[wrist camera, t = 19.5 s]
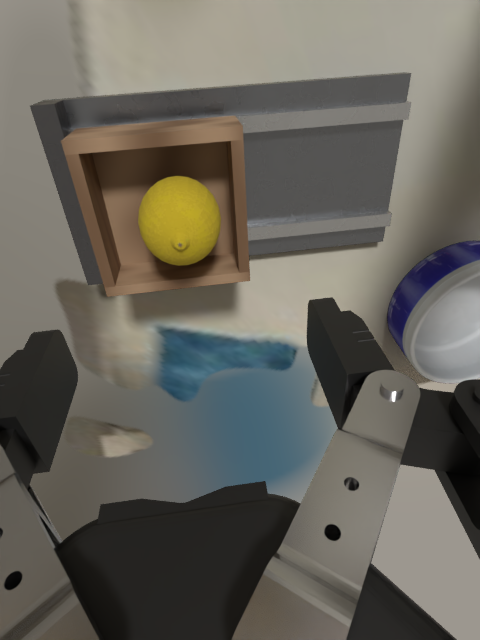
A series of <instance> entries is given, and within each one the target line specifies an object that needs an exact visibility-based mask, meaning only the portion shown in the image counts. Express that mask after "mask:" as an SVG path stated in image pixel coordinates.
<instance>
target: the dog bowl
mask: <svg viewBox="0 0 480 640" xmlns="http://www.w3.org/2000/svg"><path fill="white" fill-rule="evenodd" d="M387 319H388V327H389V330H390V333H391V335H392V336H393V338H394V339H395V341H396V343H397V344H398V346H399V347H400V349H401V350H402V352H403V353H404V354H405V356H406V357H407V359H408V360H409V361H410V363H411V364H412V366H413V367H414V368H415V369H416V371H417V372H418V373H419V374H421V375H422V376H423V377H425V378H427V379H429V380H431V381H434V382H439V383H449V384H452V383H461V382H462V381H465V380H471V379H479V378H480V241H466V242H460V243H456V244H453V245H450V246H447V247H445V248H443V249H440V250H438V251H436V252H435V253H433V254H431V255H429V256H428V257H426V258H425V259H424V260H422V261H421V262H420V263H418V264H417V265H416V266H415V267H414V268H413V269H412V270H411V271H410V272H409V273H408V274H407V275H406V276H405V277H404V278H403V280H402V281H401V282H400V284H399V285H398V287H397V289H396V290H395V292H394V294H393V296H392V299H391V302H390V305H389V309H388V316H387Z"/></svg>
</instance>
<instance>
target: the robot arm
mask: <svg viewBox="0 0 480 640" xmlns="http://www.w3.org/2000/svg"><path fill="white" fill-rule="evenodd" d="M307 346H308V351H309V354H310V358H311V360H312V363H313V365H314V368H315V370H316V373H317V376H318V378H319V381H320V383H321V386H322V388H323V391H324V393H325V396H326V398H327V401H328V404H329V406H330V409H331V411H332V414H333V416H334V419H335V421H336V424H337V427H338V429H337V430H336V432H335V434H334V435H333V437H332V440H331V442H330V444H329V446H328V448H327V450H326V452H325V454H324V456H323V458H322V460H321V463H320V465H319V467H318V469H317V471H316V473H315V475H314V477H313V479H312V481H311V483H310V486H309V488H308V490H307V492H306V494H305V496H304V498H303V500H302V502H301V504H300V503H298V502H296V501H295V500H292V499H289V498H287V497H283V496H279V495H275V494H268V493H267V488H266V482H265V481H263V482H256V483H249V484H242V485H235V486H228V487H224V488H221V489H219V490H216V491H214V492H212V493H209V494H206V495H204V496H201V497H199V498H196V499H194V500H191V501H189V502H186V503H175V502H166V501H157V500H148V499H136V500H129V501H123V502H115V503H109V504H101V506H100V511H99V517H98V519H97V520H94V521H92V522H90V523H88V524H86V525H84V526H83V527H81V528H80V529H78V530H77V531H75V532H74V533H73V534H71V535H70V536H68V537H67V538H66V539H65V540H63V541H62V539H61V538H60V536H59V535H58V533H57V531H56V529H55V528H54V526H53V524H52V522H51V520H50V518H49V517H48V515H47V513H46V511H45V509H44V508H43V506H42V504H41V502H40V501H39V499H38V497H37V495H36V493H35V492H34V490H33V488H32V487H31V485H30V481H31V478H32V475H33V474H34V473H42V472H49V471H50V468H51V465H52V462H53V458H54V455H55V452H56V449H57V446H58V443H59V440H60V436H61V433H62V430H63V427H64V424H65V421H66V418H67V414H68V411H69V408H70V405H71V402H72V399H73V395H74V392H75V389H76V386H77V382H78V372H77V367H76V364H75V362H74V359H73V357H72V355H71V352H70V350H69V348H68V346H67V343H66V341H65V338H64V336H63V334H62V332H61V331H60V330H50V331H42V332H34V333H32V334H31V336H30V337H29V339H28V341H27V343H26V345H25V347H24V349H23V350H17V351H16V352H15V353H14V354H13V355H12V356H11V357H10V358H8V359H7V360H6V361H5V362H4V364H3V366H2V367H1V369H0V640H456V639H455V638H454V637H453V636H452V635H451V634H450V633H449V632H448V631H446V630H445V629H444V628H443V627H442V626H441V625H440V624H439V623H437V622H436V621H435V620H434V619H433V618H432V617H431V616H430V615H428V614H427V613H426V612H425V611H424V610H423V609H422V608H421V607H419V606H418V605H417V604H416V603H415V602H414V601H413V600H411V599H410V598H409V597H408V596H407V595H406V594H405V593H404V592H403V591H402V590H400V589H399V588H398V587H397V586H396V585H395V584H394V583H393V582H391V581H390V580H389V579H388V578H387V577H386V576H385V575H384V574H382V573H381V572H380V571H379V570H378V569H377V568H376V567H375V566H374V565H373V564H371V561H372V558H373V554H374V551H375V547H376V544H377V540H378V538H379V534H380V531H381V527H382V524H383V521H384V517H385V514H386V511H387V507H388V504H389V501H390V497H391V494H392V490H393V487H394V484H395V481H396V477H397V474H398V471H399V467H400V464H402V465H408V466H414V467H420V468H427V469H433V470H435V472H436V474H437V476H438V478H439V480H440V482H441V484H442V486H443V487H444V490H445V492H446V494H447V496H448V498H449V499H450V501H451V503H452V505H453V507H454V509H455V511H456V513H457V515H458V517H459V519H460V521H461V523H462V525H463V527H464V529H465V531H466V533H467V535H468V537H469V539H470V541H471V543H472V544H473V547H474V549H475V551H476V553H477V555H478V557H479V558H480V380H477V379H471V380H465V381H462V382H461V383H459V384H458V385H457V386H456V388H455V391H454V393H451V392H442V391H434V390H427V389H422V388H419V387H418V385H417V384H416V382H415V381H414V380H413V379H411V378H410V377H409V376H407V375H405V374H403V373H400V372H397V371H395V370H394V369H393V367H392V365H391V364H390V362H389V361H388V359H387V358H386V356H385V354H384V353H383V351H382V350H381V348H380V346H379V345H378V343H377V342H376V340H374V337H373V335H372V334H371V332H369V329H368V327H367V326H366V324H365V323H364V321H363V320H362V319H361V318H360V317H359V316H357V315H356V314H354V313H353V312H351V311H342V312H341V311H340V309H339V307H338V305H337V304H336V302H335V300H334V299H333V298H323V299H315V300H310V301H309V303H308V320H307Z"/></svg>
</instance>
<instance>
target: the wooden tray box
mask: <svg viewBox="0 0 480 640" xmlns="http://www.w3.org/2000/svg"><path fill="white" fill-rule="evenodd" d="M61 143H62V147H63V150H64V153H65V157H66V160H67V163H68V167H69V170H70V173H71V177H72V180H73V184H74V187H75V190H76V194H77V197H78V200H79V204H80V207H81V210H82V214H83V217H84V220H85V224H86V227H87V231H88V234H89V237H90V241H91V244H92V247H93V251H94V254H95V257H96V261H97V264H98V267H99V271H100V274H101V278H102V281H103V284H104V288H105V291H106V294H107V297H109V296H118V295H127V294H136V293H145V292H154V291H163V290H172V289H181V288H190V287H199V286H208V285H217V284H226V283H234V282H243V281H250V269H249V248H248V227H247V205H246V184H245V163H244V141H243V125H242V124H241V123H240V122H239V120H238V119H237V118H236V116H224V117H211V118H199V119H187V120H175V121H163V122H150V123H138V124H126V125H114V126H101V127H89V128H77V129H75V130H74V131H73V132H71V133H70V134H69V135H68V136H66V137H65V138H64V139H63V140H61ZM173 176H184V177H189V178H192V179H194V180H197V181H198V182H200V183H201V184H203V185H204V186H205V187H206V188H207V189H208V190H209V191H210V192H211V193H212V195H213V196H214V198H215V200H216V202H217V204H218V206H219V211H220V216H221V228H220V233H219V237H218V240H217V242H216V244H215V246H214V247H213V249H212V250H211V252H210V253H209V254H208V255H207V256H206V257H204V258H203V259H202V260H200V261H198V262H196V263H193V264H190V265H180V266H178V265H172V264H169V263H166V262H164V261H162V260H160V259H159V258H157V257H156V256H155V255H153V254H152V252H151V251H150V250H149V249H148V248H147V246H146V245H145V243H144V241H143V239H142V237H141V234H140V229H139V224H138V215H139V207H140V205H141V202H142V199H143V197H144V195H145V194H146V193H147V191H148V190H149V188H151V187H152V186H153V185H154V184H155V183H157V182H158V181H160V180H162V179H165V178H167V177H173Z"/></svg>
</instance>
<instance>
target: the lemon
mask: <svg viewBox="0 0 480 640" xmlns="http://www.w3.org/2000/svg"><path fill="white" fill-rule="evenodd" d="M138 224H139V229H140V234H141V237H142V239H143V241H144V243H145V245H146V246H147V248H148V249H149V250H150V251H151V252H152V254H153V255H155V256H156V257H157V258H159V259H160V260H162V261H164V262H166V263H169V264H172V265H178V266H180V265H190V264H193V263H196V262H198V261H200V260H202V259H203V258H204V257H206V256H207V255H208V254H209V253H210V252H211V250H212V249H213V247H214V246H215V244H216V242H217V240H218V237H219V233H220V228H221V216H220V211H219V206H218V204H217V202H216V200H215V198H214V196H213V195H212V193H211V192H210V191H209V190H208V189H207V188H206V187H205V186H204V185H203V184H201V183H200V182H198V181H197V180H194V179H192V178H189V177H184V176H173V177H167V178H165V179H162V180H160V181H158V182H157V183H155V184H154V185H153V186H152V187H151V188H149V190H148V191H147V193H146V194H145V195H144V197H143V199H142V202H141V205H140V207H139V215H138Z"/></svg>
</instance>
